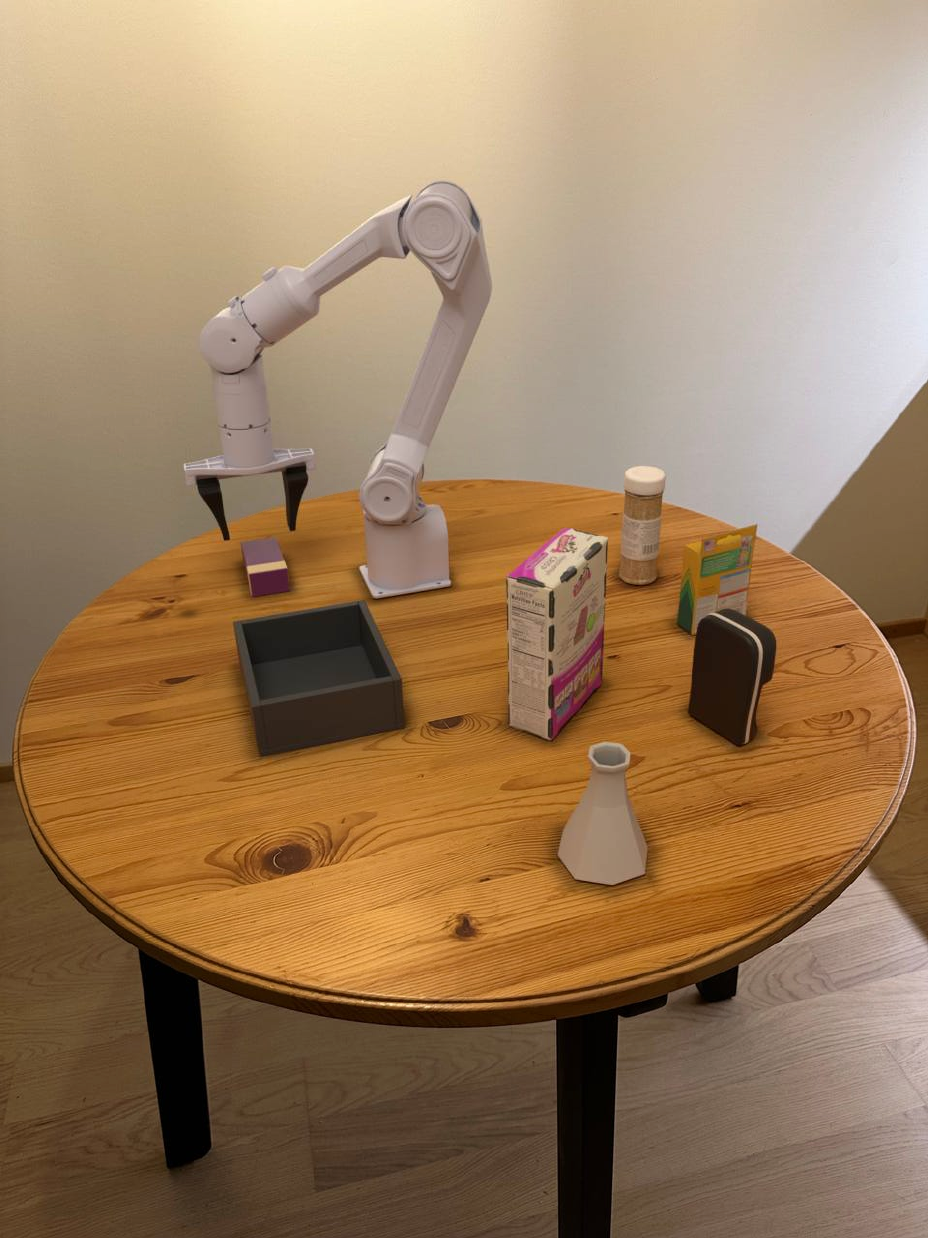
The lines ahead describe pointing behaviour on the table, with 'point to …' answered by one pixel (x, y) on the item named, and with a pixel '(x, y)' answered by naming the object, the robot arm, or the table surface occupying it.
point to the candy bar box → (555, 631)
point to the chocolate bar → (265, 567)
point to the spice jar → (641, 524)
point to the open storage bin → (317, 677)
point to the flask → (604, 823)
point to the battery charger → (730, 672)
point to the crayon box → (715, 576)
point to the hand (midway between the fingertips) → (259, 532)
